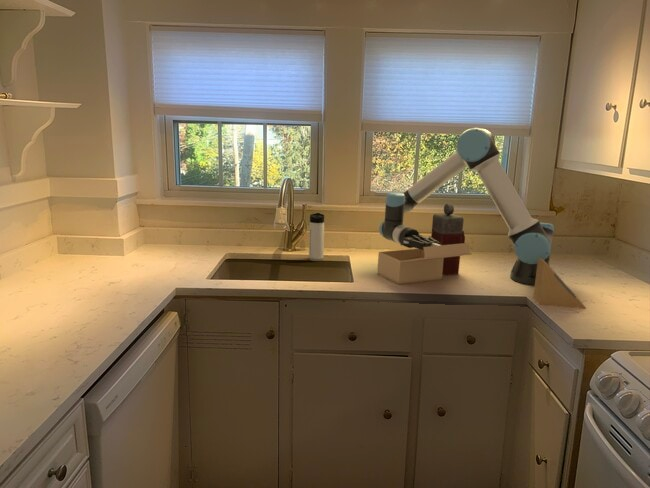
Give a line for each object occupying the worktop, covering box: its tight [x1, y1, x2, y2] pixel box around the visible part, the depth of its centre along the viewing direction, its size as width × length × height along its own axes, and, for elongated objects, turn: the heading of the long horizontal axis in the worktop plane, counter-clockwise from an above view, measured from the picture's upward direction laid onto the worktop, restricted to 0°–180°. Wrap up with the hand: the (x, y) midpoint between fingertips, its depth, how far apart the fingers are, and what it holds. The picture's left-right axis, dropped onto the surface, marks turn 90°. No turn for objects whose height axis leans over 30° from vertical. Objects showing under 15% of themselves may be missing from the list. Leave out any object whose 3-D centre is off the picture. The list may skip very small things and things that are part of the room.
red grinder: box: [430, 203, 466, 276], centre depth 199 cm, size 9×11×28 cm
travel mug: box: [308, 212, 325, 262], centre depth 213 cm, size 6×7×20 cm
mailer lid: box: [400, 242, 473, 263], centre depth 179 cm, size 15×20×4 cm
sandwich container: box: [532, 257, 587, 309], centre depth 168 cm, size 9×15×15 cm, turn 80°
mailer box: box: [376, 248, 444, 286], centre depth 193 cm, size 15×20×9 cm
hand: (444, 251), depth 173 cm, fingers closed
